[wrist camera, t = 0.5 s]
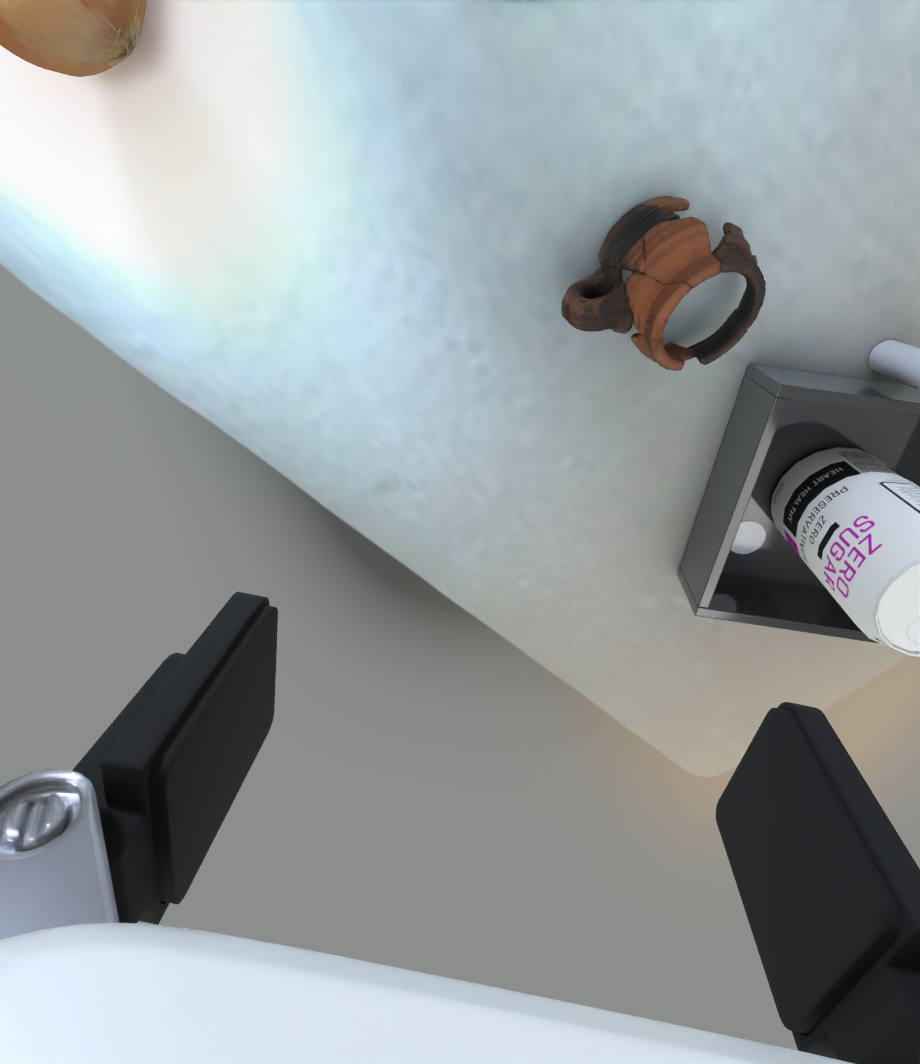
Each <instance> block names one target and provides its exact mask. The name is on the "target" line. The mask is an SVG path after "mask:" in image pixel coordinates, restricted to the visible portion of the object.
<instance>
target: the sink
mask: <svg viewBox="0 0 920 1064" xmlns="http://www.w3.org/2000/svg"><path fill="white" fill-rule="evenodd" d="M869 365H870V367H871V369H872V370H874V371H876V372H878V373H880V374H883V375H885V376H887V377H890V378H892V379H894V380H896V381H899V382H901V383H903V384H906V385H901V384H893V383H886V382H879V381H871V380H864V379H857V378H849V377H842V376H835V375H828V374H820V373H813V372H806V371H798V370H791V369H784V368H776V367H769V366H762V365H755V364H748V367H747V370H746V373H745V376H744V379H743V382H742V385H741V388H740V391H739V394H738V397H737V400H736V403H735V406H734V409H733V412H732V415H731V417H730V420H729V423H728V426H727V429H726V432H725V435H724V438H723V441H722V444H721V447H720V450H719V453H718V456H717V459H716V462H715V465H714V467H713V470H712V473H711V476H710V479H709V482H708V485H707V488H706V491H705V494H704V497H703V500H702V503H701V506H700V509H699V512H698V515H697V518H696V520H695V523H694V526H693V529H692V532H691V535H690V538H689V541H688V544H687V547H686V550H685V553H684V556H683V559H682V562H681V565H680V567H679V570H678V573H677V575H678V577H679V579H680V582H681V584H682V586H683V589H684V591H685V593H686V596H687V598H688V600H689V603H690V605H691V607H692V610H693V612H694V614H695V615H696V616H702V617H708V618H715V619H722V620H728V621H735V622H742V623H748V624H755V625H761V626H768V627H775V628H781V629H788V630H795V631H801V632H808V633H815V634H821V635H828V636H834V637H841V638H848V639H854V640H861V641H868V642H874V643H878V642H876V641H874V640H871V639H869V638H868V637H867V636H866V635H865V634H864V633H863V632H862V631H861V630H860V629H859V627H858V626H857V625H856V624H855V623H854V622H853V621H852V619H851V618H850V617H849V616H848V615H847V613H846V612H845V611H844V610H843V608H842V607H841V606H840V605H839V604H838V602H837V601H836V600H835V599H834V597H833V596H832V595H831V594H830V593H829V591H828V590H827V589H826V588H825V586H824V585H823V584H822V583H821V582H820V580H819V579H818V578H817V577H816V575H815V574H814V573H813V572H812V571H811V569H810V568H809V567H808V566H807V564H806V563H805V562H804V561H803V560H802V558H801V557H800V556H799V555H798V553H797V552H796V551H795V550H794V548H793V547H792V546H791V545H790V544H789V542H788V541H787V540H786V539H785V537H784V536H783V535H782V534H781V533H780V531H779V530H778V529H777V528H776V526H775V523H774V520H773V517H772V514H771V506H772V497H773V493H774V491H775V489H776V488H777V486H778V484H779V482H780V480H781V478H782V477H783V476H784V475H785V474H786V473H787V472H788V471H789V470H790V469H791V468H792V467H793V466H794V465H795V464H796V463H797V462H799V461H801V460H803V459H805V458H807V457H808V456H810V455H812V454H814V453H816V452H819V451H824V450H828V449H832V448H837V447H840V448H854V449H859V450H862V451H864V452H866V453H868V454H870V455H872V456H874V457H876V458H878V459H879V460H880V461H882V462H883V463H885V464H886V465H888V466H889V467H891V468H892V469H894V470H895V471H897V472H898V473H900V474H901V475H903V476H904V477H906V478H907V479H909V480H910V481H912V482H913V483H914V484H916V485H917V486H919V487H920V348H918V347H915V346H912V345H909V344H906V343H903V342H900V341H897V340H886V341H883V342H881V343H879V344H878V345H876V346H875V347H874V348H873V350H872V351H871V353H870V355H869ZM727 573H728V574H727ZM734 574H735V575H734ZM740 575H741V576H740ZM747 576H748V577H747ZM754 577H755V578H754ZM761 578H762V579H761ZM767 579H768V580H767ZM774 580H775V581H774ZM781 581H782V582H781ZM788 582H789V583H788ZM794 583H795V584H794ZM801 584H802V585H801ZM808 585H809V586H808ZM815 586H816V587H815ZM821 587H822V588H821Z"/></svg>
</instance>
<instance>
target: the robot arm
mask: <svg viewBox="0 0 920 1064" xmlns="http://www.w3.org/2000/svg"><path fill="white" fill-rule="evenodd" d="M522 1H527V0H522ZM277 621H278V610H277V608H276V607H272V606H269V600H268V598H267V597H262V596H257V595H252V594H247V593H242V592H236V593H235V594H234V595H233V596H232V597H231V598H230V600H229V601H228V602H227V603H226V605H225V606H224V607H223V608H222V610H221V611H220V612H219V613H218V614H217V616H216V617H215V618H214V620H213V621H212V622H211V623H210V625H209V626H208V627H207V629H206V630H205V631H204V632H203V633H202V635H201V636H200V637H199V638H198V640H197V641H196V642H195V643H194V645H193V646H192V647H191V648H190V650H189V651H188V652H187V653H186V655H184V654H180V653H174V654H172V655H170V656H169V657H168V658H167V659H166V660H165V661H164V662H163V663H162V664H161V665H160V667H159V668H158V669H157V670H156V671H155V672H154V674H153V675H152V676H151V677H150V679H149V680H148V681H147V682H146V683H145V685H144V686H143V687H142V688H141V689H140V690H139V692H138V693H137V694H136V695H135V696H134V698H133V699H132V700H131V701H130V702H129V704H128V705H127V706H126V707H125V708H124V710H123V711H122V712H121V713H120V714H119V716H118V717H117V718H116V719H115V720H114V721H113V723H112V724H111V725H110V726H109V727H108V729H107V730H106V731H105V732H104V733H103V735H102V736H101V737H100V738H99V739H98V741H97V742H96V743H95V744H94V745H93V747H92V748H91V749H90V750H89V751H88V753H87V754H86V755H85V756H84V757H83V758H82V760H81V761H80V762H79V763H78V764H77V766H76V767H75V768H74V769H73V770H72V771H71V770H67V769H45V770H40V771H36V772H31V773H27V774H25V775H23V776H20V777H17V778H15V779H13V780H10V781H8V782H7V783H5V784H4V785H2V786H1V787H0V1064H920V869H919V867H918V866H917V864H916V863H915V861H914V859H913V858H912V856H911V855H910V853H909V851H908V850H907V848H906V846H905V845H904V844H903V842H902V840H901V838H900V837H899V835H898V833H897V832H896V830H895V829H894V827H893V825H892V824H891V822H890V820H889V819H888V817H887V816H886V814H885V812H884V811H883V809H882V808H881V806H880V804H879V803H878V801H877V799H876V798H875V796H874V795H873V793H872V791H871V790H870V788H869V786H868V785H867V783H866V782H865V780H864V778H863V777H862V775H861V773H860V772H859V770H858V769H857V767H856V765H855V764H854V762H853V761H852V759H851V757H850V756H849V754H848V752H847V751H846V749H845V748H844V746H843V745H842V743H841V741H840V739H839V738H838V736H837V735H836V733H835V732H834V730H833V728H832V727H831V725H830V723H829V722H828V720H827V718H826V717H825V715H824V714H823V713H822V711H821V710H819V709H817V708H814V707H809V706H804V705H799V704H794V703H789V702H784V703H782V704H780V705H779V707H778V708H772V709H770V710H769V712H768V713H767V715H766V717H765V718H764V720H763V722H762V724H761V726H760V727H759V729H758V731H757V733H756V735H755V736H754V738H753V740H752V742H751V744H750V745H749V747H748V749H747V751H746V753H745V754H744V756H743V758H742V760H741V762H740V763H739V765H738V767H737V769H736V771H735V772H734V774H733V776H732V778H731V779H730V781H729V783H728V785H727V787H726V789H725V790H724V792H723V794H722V796H721V797H720V799H719V801H718V804H717V808H716V821H717V825H718V828H719V831H720V834H721V837H722V840H723V843H724V846H725V849H726V852H727V856H728V859H729V862H730V865H731V868H732V871H733V874H734V877H735V880H736V883H737V887H738V890H739V893H740V896H741V899H742V902H743V905H744V908H745V911H746V914H747V917H748V921H749V924H750V927H751V930H752V933H753V936H754V939H755V942H756V945H757V948H758V951H759V955H760V957H761V961H762V964H763V967H764V970H765V973H766V976H767V979H768V982H769V985H770V988H771V992H772V995H773V998H774V1001H775V1004H776V1007H777V1010H778V1013H779V1016H780V1018H781V1021H782V1023H783V1024H784V1026H785V1027H786V1028H787V1029H788V1030H792V1033H793V1036H794V1039H795V1042H796V1045H797V1048H798V1050H793V1049H788V1048H783V1047H779V1046H774V1045H769V1044H764V1043H759V1042H755V1041H750V1040H745V1039H740V1038H736V1037H731V1036H726V1035H722V1034H717V1033H712V1032H708V1031H703V1030H698V1029H693V1028H689V1027H684V1026H679V1025H675V1024H670V1023H665V1022H660V1021H656V1020H651V1019H646V1018H641V1017H637V1016H632V1015H627V1014H622V1013H617V1012H612V1011H607V1010H603V1009H598V1008H593V1007H588V1006H583V1005H578V1004H574V1003H569V1002H564V1001H559V1000H554V999H549V998H544V997H540V996H535V995H530V994H524V993H519V992H515V991H510V990H505V989H500V988H496V987H490V986H485V985H481V984H475V983H471V982H466V981H461V980H456V979H451V978H446V977H441V976H436V975H431V974H426V973H421V972H416V971H411V970H406V969H401V968H396V967H391V966H386V965H381V964H376V963H371V962H366V961H361V960H356V959H351V958H346V957H341V956H336V955H331V954H326V953H321V952H316V951H311V950H306V949H301V948H295V947H290V946H284V945H279V944H273V943H267V942H262V941H256V940H251V939H245V938H240V937H234V936H229V935H223V934H218V933H212V932H207V931H201V930H193V929H184V928H177V927H169V926H161V925H153V924H159V922H160V920H161V918H162V916H163V914H164V913H165V911H166V909H167V907H168V905H169V903H173V904H179V903H180V902H181V901H182V899H183V898H184V896H185V895H186V893H187V891H188V889H189V887H190V885H191V883H192V881H193V879H194V877H195V875H196V873H197V871H198V869H199V867H200V865H201V864H202V862H203V859H204V858H205V856H206V854H207V852H208V850H209V848H210V846H211V844H212V842H213V840H214V838H215V836H216V834H217V832H218V830H219V828H220V826H221V824H222V822H223V820H224V818H225V816H226V814H227V812H228V811H229V809H230V807H231V805H232V803H233V800H234V799H235V797H236V795H237V793H238V791H239V789H240V787H241V785H242V783H243V781H244V779H245V777H246V775H247V773H248V771H249V769H250V767H251V766H252V764H253V762H254V760H255V758H256V756H257V754H258V752H259V750H260V748H261V746H262V744H263V742H264V740H265V738H266V736H267V734H268V732H269V730H270V727H271V724H272V721H273V716H274V702H275V676H276V674H275V673H276V649H277ZM138 921H143V922H148V923H153V924H136V923H137V922H138Z"/></svg>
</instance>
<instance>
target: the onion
mask: <svg viewBox="0 0 920 1064" xmlns="http://www.w3.org/2000/svg"><path fill="white" fill-rule="evenodd" d="M145 6H146V0H0V45H1V46H3V47H4V48H6V49H7V50H9V51H10V52H12V53H13V54H15V55H16V56H18V57H20V58H21V59H23V60H25V61H27V62H29V63H31V64H34V65H36V66H38V67H41V68H44V69H48V70H51V71H55V72H59V73H63V74H67V75H71V76H77V77H82V76H89V75H95V74H98V73H101V72H103V71H106V70H107V69H109V68H111V67H113V66H115V65H116V64H118V63H119V62H121V61H122V60H124V59H125V58H126V57H127V56H129V55H130V54H131V52H132V51H133V49H134V48H135V44H136V40H137V38H138V37H139V35H140V33H141V28H142V24H143V19H144V14H145Z"/></svg>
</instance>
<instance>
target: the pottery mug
mask: <svg viewBox="0 0 920 1064" xmlns="http://www.w3.org/2000/svg"><path fill="white" fill-rule="evenodd" d="M689 205H690V203H689V202H688V201H687V200H685V199H679V198H674V197H671V196H664V197H658V198H654V199H651V200H648V201H646V202H644V203H642V204H640V205H638V206H636V207H634V208H633V209H632V210H630V211H629V212H628V213H626V214H625V215H624V216H623V217H622V218H621V219H620V220H619V221H618V222H617V223H616V224H615V225H614V226H613V228H612V229H611V230H610V232H609V233H608V235H607V237H606V240H605V242H604V244H603V246H602V248H601V251H600V254H599V259H600V264H601V267H600V268H598V269H597V270H596V271H595V272H594V273H593V274H592V275H590V276H589V277H587V278H585V279H583V280H580V281H578V282H576V283H574V284H573V285H571V286H570V287H569V289H568V290H567V292H566V294H565V296H564V298H563V300H562V316H563V317H564V318H565V319H566V320H567V321H568V322H569V323H570V324H571V325H572V326H573V327H575V328H577V329H579V330H583V331H602V330H605V329H612V330H613V331H614V332H618V333H627V332H629V331H630V329H631V328H632V324H634V325H635V327H636V329H638V331H639V333H636V334H633V335H632V337H631V339H632V341H633V343H634V344H635V345H636V347H637V348H638V349H639V350H640V351H641V353H642V354H644V355H645V356H646V357H648V358H650V359H651V360H653V361H654V362H657V363H658V364H659V365H660V366H662V367H664V368H665V369H669V370H675V371H679V370H681V369H682V367H683V366H684V361H685V360H688V359H691V358H693V357H696V358H697V359H698V360H699V362H700V363H701V364H704V365H706V364H709V363H711V362H712V361H714V360H716V359H717V358H719V357H721V356H722V355H723V354H724V353H726V352H727V351H728V350H730V349H731V348H732V347H733V346H734V345H735V344H736V343H737V342H738V341H739V340H740V339H741V338H742V337H743V335H744V334H745V333H746V332H747V329H748V328H749V327H750V326H751V325H752V323H753V322H754V320H755V319H756V318H757V315H758V312H759V310H760V308H761V306H762V304H763V300H764V296H765V283H766V282H765V280H764V277H763V275H762V273H761V271H760V269H759V267H758V266H757V260H756V256H755V255H752V254H751V250H750V246H749V244H748V242H747V241H746V240H745V238H744V236H743V232H742V230H741V228H739V227H737V226H736V225H734V224H732V223H725V224H724V226H723V230H724V234H725V235H724V236H723V238H722V240H721V242H720V243H719V245H718V246H717V247H716V248H715V250H714V251H713V252H711V250H710V248H711V246H710V241H709V238H708V232H707V229H706V225H705V223H704V222H702V221H700V220H699V219H697V218H694V217H689V218H684V219H680V217H679V215H676V214H675V213H673V212H674V211H684V210H688V209H689ZM624 269H625V270H630V271H633V273H632V275H630V276H629V277H628V278H627V280H626V282H625V283H624V282H623V281H622V270H624ZM721 272H737V273H740V274H742V275H743V276H744V277H745V278H746V282H747V287H746V290H745V292H744V294H743V297H742V299H741V301H740V304H739V306H738V308H737V309H735V310H734V311H733V313H732V314H731V315H730V316H729V318H728V319H727V320H726V322H725V323H724V324H723V325H722V326H721V327H720V328H719V329H718V330H717V331H716V332H715V333H714V334H713V335H711V336H710V337H708V338H706V339H705V340H703V341H701V342H699V343H697V344H695V345H692V346H690V347H688V348H685V347H682V346H679V345H676V344H673V343H670V344H667V345H665V346H663V340H662V334H663V331H664V327H665V325H666V323H667V320H668V318H669V316H670V315H671V313H672V311H673V310H674V308H675V307H676V306H677V304H678V303H679V302H680V300H681V299H682V298H683V297H684V296H685V295H686V294H687V293H688V292H689V291H690V290H691V289H692V288H694V287H696V286H697V285H698V284H700V283H701V282H703V281H705V280H707V279H709V278H711V277H713V276H715V275H718V274H719V273H721Z"/></svg>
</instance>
